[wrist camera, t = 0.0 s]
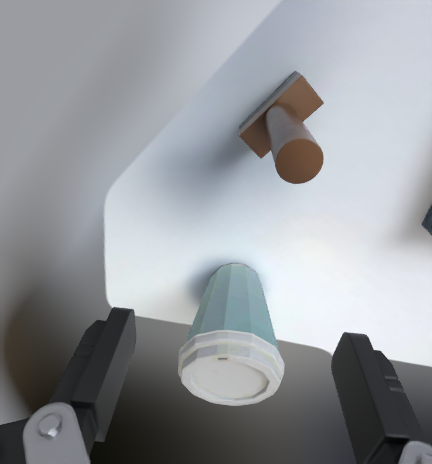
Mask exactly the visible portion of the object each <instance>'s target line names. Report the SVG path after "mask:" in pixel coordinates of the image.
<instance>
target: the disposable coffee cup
mask: <svg viewBox="0 0 432 464" xmlns="http://www.w3.org/2000/svg"><path fill="white" fill-rule="evenodd" d="M284 365H285V364H284V362H283V360H282V358H281V356H280V354H279V350H278V346H277V342H276V338H275V334H274V331H273V327H272V323H271V319H270V315H269V311H268V308H267V304H266V300H265V296H264V292H263V288H262V285H261V282H260V280H259V278H258V276H257V274H256V273H255V271H253V270H252V269H250V268H249V267H247V266H246V265H242V264H235V263H231V264H228V265H224V266H221V267H220V268H219V269H218V270H217V271H216V272H215V273H214V274H213V275H212V276H211V278H210V281H209V283H208V286H207V288H206V291H205V294H204V296H203V299H202V301H201V304H200V307H199V309H198V312H197V314H196V317H195V320H194V322H193V325H192V327H191V330H190V332H189V335H188V338H187V340H186V343H185V345H184V346H183V347H181V348H180V350H179V365H178V366H179V369H178V374H179V376H180V377H181V382H182V383H183V384H184V385H185V386H186V387H187V388H188V389H189V391H190V392H191V393H192V394H193V395H196V396H198V397H200V398H202V399H205V400H207V401H210V402H212V403H217V404H225V405H232V406H239V405H246V404H253V403H258V402H260V401H262V400H264V399H265V398H267V397H269V396H271V395H273V394H274V393H275V391H276V390H277V389H278V387H279V384H280V382H281V379H282V377H283V374H284Z"/></svg>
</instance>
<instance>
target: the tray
mask: <svg viewBox="0 0 432 464" xmlns="http://www.w3.org/2000/svg"><path fill="white" fill-rule="evenodd" d="M422 225H423V226H424V227H425V228H426V229H427V230H428V232H429V233H430V234H431V235H432V205H431V207H430V209H429V211H428V213H427V215H426V217H425V219H424V221H423V223H422Z"/></svg>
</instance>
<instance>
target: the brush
mask: <svg viewBox="0 0 432 464" xmlns="http://www.w3.org/2000/svg"><path fill="white" fill-rule="evenodd" d="M323 103H324V102H323V101H322V100H321V98H320V97H319V96H318V95H317V93H316V92H315V91H314V90H313V88H312V87H311V86H310V84H309V83H308V82H307V81H306V79H305V78H304V77H303V76H302V75H301V74H299V73H298V72H296V71H295V72H294V73H293V74H292V75H291V76H290V77H289V78H288V79H287V80H286V81H285V82H284V83H283V84H282V85H281V86H280V87H279V88H278V89H277V90H276V91H275V92H274V93H273V94H272V95H271V96H270V97H269V98H268V99H267V100H266V101H264V102H263V103H262V104H261V105H260V106H259V107H258V108H257V109H256V110H255V111H254V112H253V113H252V114H251V115H250V116H249V117H248V118H247V119H246V120H245V121H244V122H243V123H242V124H241V125H240V126H239V136H240V137H241V138H242V139H243V140H244V142H245V143H246V144H247V145H248V146H249V147H250V148H251V149H252V150H253V151H254V152H255V153H256V154H257V155H258V156H259V157H260V158H262V157H264V156H265V155H266V154H267V153H268V152H269V151H270V150H271V152H272V155H273V159H274V163H275V167H276V170H277V173H278V174H279V176H280V177H281V178H282V179H283V180H285V181H287V182H289V183H293V184H300V183H305V182H307V181H309V180H311V179H313V178H314V177H315V176H316V175H317V174H318V173H319V171H320V169H321V167H322V165H323V152H322V150H321V148H320V146H319V145H318V144H317V142H316V141H315V139H314V138H313V136H312V135H311V133H310V132H309V131H308V129H307V128H306V126H305V125H304V123H303V121H304V120H305V119H307V118H308V117H309V116H310V115H311V114H312V113H313V112H314V111H316V110H317V109H318V108H319V107H320V106H321V105H322V104H323Z"/></svg>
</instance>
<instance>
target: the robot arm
mask: <svg viewBox="0 0 432 464" xmlns="http://www.w3.org/2000/svg"><path fill="white" fill-rule="evenodd" d="M135 343H136V327H135V315H134V310H133V309H127V308H117V307H114V308H112V310H111V312H110V314H109V316H108V319H107V321H101V320H97V321H95V323H93V324H92V325H91V326H90V327H89V328H88V329H87V330H86V331H85V333H84V335H83V337H82V339H81V341H80V343H79V346H78V347H77V349H76V351H75V353H74V356H73V357H72V359H71V360H70V362H69V364H68V366H67V368H66V370H65V372H64V374H63V376H62V378H61V380H60V382H59V384H58V386H57V388H56V390H55V392H54V394H53V396H52V397H51V399H50V401H49V402H48V403H47V404H46V405H45V406H44V407H42V408H40V409H39V410H38V411H37V412H35V413H34V414H33V415H32V416H30V417H28V418H26V419H23V420H20V421H16V422H12V423H7V424H2V425H0V464H90V461H89V455H90V452H91V449H92V446H93V443H94V441H102V442H104V440H105V437H106V434H107V431H108V428H109V425H110V422H111V418H112V416H113V413H114V410H115V407H116V404H117V401H118V397H119V394H120V391H121V388H122V385H123V382H124V379H125V376H126V373H127V370H128V367H129V364H130V361H131V358H132V355H133V352H134V348H135ZM331 368H332V374H333V378H334V382H335V385H336V389H337V393H338V397H339V400H340V404H341V407H342V411H343V415H344V418H345V422H346V426H347V430H348V433H349V437H350V441H351V445H352V448H353V452H354V456H355V459H356V463H357V464H432V446H431V445H430V444H429V443H428V441H427V439H426V438H425V436H424V433H423V431H422V429H421V427H420V424H419V423H418V420H417V418H416V416H415V414H414V412H413V409H412V407H411V405H410V403H409V400H408V399H407V396H406V394H405V393H404V389H403V387H402V385H401V383H400V381H398V377H397V375H396V372H395V370H394V368H393V365H392V364H391V363H390V361H389V360H388V359H387V358H386V357H385V355H384V354H383V353H382V352H381V351H378V350H373V347H372V345H371V342H370V340H369V338H368V336H367V335H365V334H357V333H348V332H344V333H343V335H342V337H341V339H340V341H339V343H338V346H337V348H336V350H335V352H334V354H333V357H332V364H331Z"/></svg>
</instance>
